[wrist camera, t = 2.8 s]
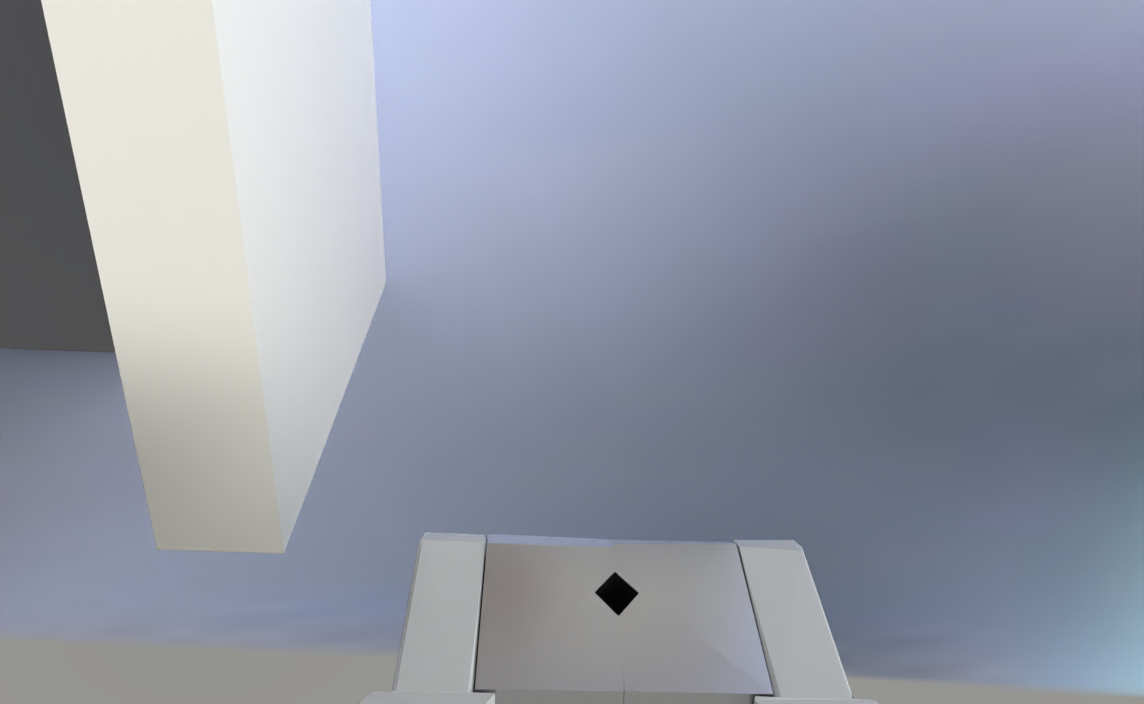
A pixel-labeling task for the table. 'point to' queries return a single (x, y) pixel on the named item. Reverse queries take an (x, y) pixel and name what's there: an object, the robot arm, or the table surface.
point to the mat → (42, 202)
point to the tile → (227, 240)
